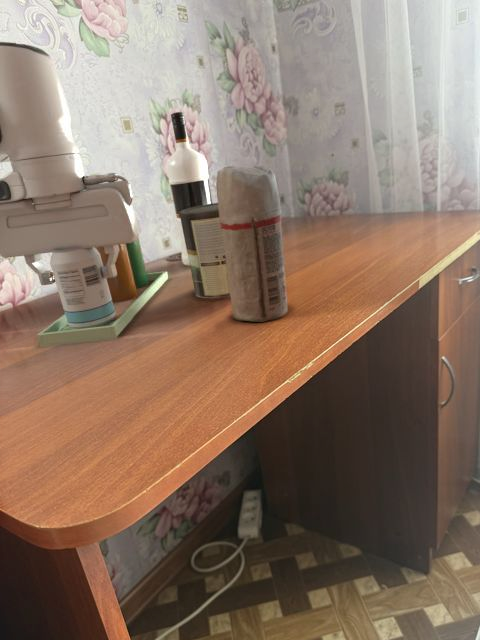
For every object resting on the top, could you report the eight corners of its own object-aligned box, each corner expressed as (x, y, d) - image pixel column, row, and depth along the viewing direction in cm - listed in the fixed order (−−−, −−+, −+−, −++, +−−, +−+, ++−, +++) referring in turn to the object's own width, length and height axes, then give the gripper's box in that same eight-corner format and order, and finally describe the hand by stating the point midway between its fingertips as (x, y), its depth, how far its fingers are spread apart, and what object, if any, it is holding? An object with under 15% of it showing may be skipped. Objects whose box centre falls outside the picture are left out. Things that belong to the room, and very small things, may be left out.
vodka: (196, 270, 103) (166, 111, 92) (175, 265, 110) (145, 117, 99) (233, 259, 108) (209, 107, 96) (211, 256, 115) (186, 113, 103)
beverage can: (116, 314, 79) (96, 238, 74) (118, 326, 73) (97, 244, 68) (71, 324, 77) (47, 247, 73) (69, 337, 71) (44, 254, 66)
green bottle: (118, 292, 93) (91, 188, 86) (126, 284, 97) (102, 186, 90) (145, 288, 92) (120, 184, 85) (152, 281, 97) (130, 182, 90)
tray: (40, 348, 70) (36, 335, 69) (114, 287, 99) (111, 277, 98) (117, 339, 69) (113, 326, 68) (169, 280, 98) (166, 271, 97)
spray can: (262, 302, 76) (242, 163, 68) (302, 308, 70) (286, 158, 63) (220, 319, 71) (194, 171, 63) (260, 328, 65) (237, 167, 58)
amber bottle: (103, 304, 86) (74, 193, 79) (114, 295, 90) (86, 190, 83) (133, 301, 85) (105, 188, 78) (141, 292, 90) (116, 185, 83)
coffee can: (182, 299, 83) (164, 214, 78) (221, 282, 91) (207, 202, 86) (229, 303, 77) (214, 211, 72) (267, 284, 85) (255, 199, 80)
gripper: (133, 169, 69) (154, 267, 74) (-5, 188, 71) (25, 282, 76) (119, 172, 63) (142, 278, 68) (-32, 192, 65) (2, 293, 70)
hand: (79, 280), depth 72 cm, fingers open, 8 cm apart
